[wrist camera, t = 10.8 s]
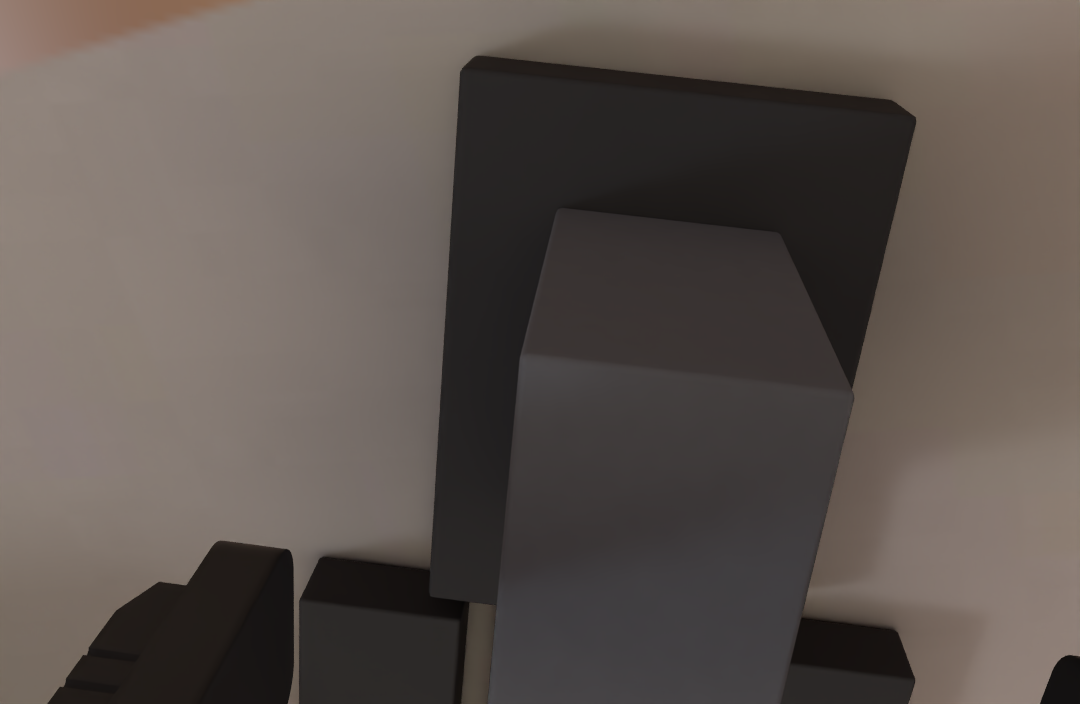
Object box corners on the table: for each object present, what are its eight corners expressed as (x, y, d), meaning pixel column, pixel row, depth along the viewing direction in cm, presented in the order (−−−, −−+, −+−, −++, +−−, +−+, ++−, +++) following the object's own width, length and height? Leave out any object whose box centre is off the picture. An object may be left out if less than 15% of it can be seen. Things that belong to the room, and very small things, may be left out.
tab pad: (473, 54, 17) (367, 151, 10) (895, 99, 17) (1078, 230, 10) (430, 718, 23) (344, 1064, 16) (744, 759, 23) (793, 1131, 16)
